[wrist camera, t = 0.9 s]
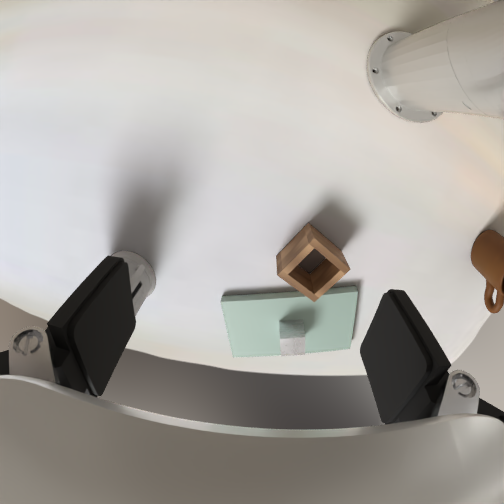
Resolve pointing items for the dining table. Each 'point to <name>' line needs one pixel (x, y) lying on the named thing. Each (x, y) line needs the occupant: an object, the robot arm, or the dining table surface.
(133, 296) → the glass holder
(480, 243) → the mug
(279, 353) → the base board
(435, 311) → the dining table surface
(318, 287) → the walnut collar
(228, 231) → the dining table surface
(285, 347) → the white plaster cube
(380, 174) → the dining table surface
